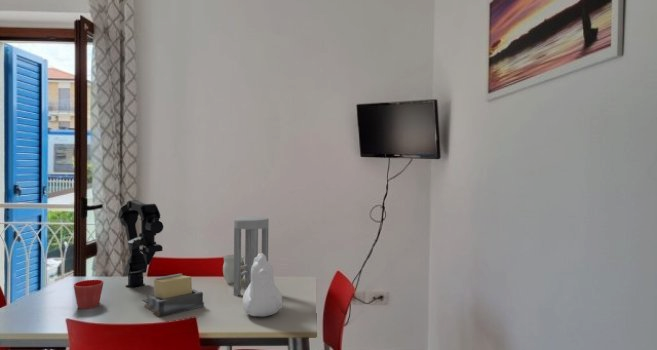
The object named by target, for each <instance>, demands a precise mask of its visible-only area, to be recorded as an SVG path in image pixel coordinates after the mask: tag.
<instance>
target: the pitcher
mask: <svg viewBox="0 0 657 350" xmlns="http://www.w3.org/2000/svg"><path fill="white" fill-rule="evenodd" d="M243 265H245V255H243V254H241V266H243ZM244 271H245V268H244V269H241V273H242V272H244ZM222 273H223V278H224V281H225V282H226V283H227V284H228V283H229V284H228V285H234V254H226V255H224V256H223V265H222ZM244 277H245V275H243V276H241V282H242V280H243V279H244Z"/></svg>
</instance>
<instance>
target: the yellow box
mask: <svg viewBox="0 0 657 350" xmlns="http://www.w3.org/2000/svg"><path fill="white" fill-rule="evenodd" d="M153 285H154V287H153V290H154V297H156V298H157V299H159V300H165V299H169V298H174V297H179V296H183V295H188V294H192V289H193V284H192V276H188V275H183V273H177V274H176V273H175V274H169V275H165V276H159V277H155V278H154V280H153Z"/></svg>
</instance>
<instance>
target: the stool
mask: <svg viewBox="0 0 657 350" xmlns="http://www.w3.org/2000/svg"><path fill="white" fill-rule="evenodd" d="M233 223H234V224H233V230H234V231H233V235H234V236H233V255H234V284H233V296H237V297H238V295H239V296H240V294H241V289H242V288H241V287H242V284H241V283H242V281H241V276H243V275H244V276H243V277H244V290H245V291H246V289H247V288H248V286H249V284H250V283H251V267H252V265H253V262H254V258H255V257H257V255H258V254H259V230H261V253H263V254H264V255H265V256H266V259H267V261H268V262H269V223H270V221H269V217H266V216H241V217H235V219H234V220H233ZM242 230H245V231H244V233H245V236H244V237H245V239H244V241H245V243H244V248H245V252H244V265H243V266H241V255H242ZM244 268H245V271H244V272H242V273H241V269H244Z"/></svg>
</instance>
